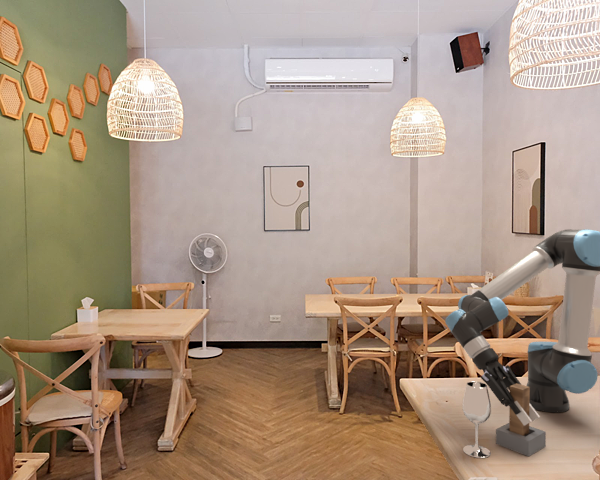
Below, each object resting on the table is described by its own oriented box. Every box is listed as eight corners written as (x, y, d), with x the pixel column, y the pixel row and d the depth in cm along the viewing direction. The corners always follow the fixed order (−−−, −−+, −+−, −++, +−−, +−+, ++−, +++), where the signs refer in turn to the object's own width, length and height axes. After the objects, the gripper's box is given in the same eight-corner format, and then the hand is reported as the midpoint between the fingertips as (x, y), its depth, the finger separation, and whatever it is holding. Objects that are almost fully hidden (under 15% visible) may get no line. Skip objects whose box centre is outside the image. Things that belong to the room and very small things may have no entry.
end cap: (513, 434, 147) (513, 420, 147) (545, 446, 139) (545, 431, 139) (496, 443, 141) (496, 429, 141) (528, 456, 133) (528, 441, 133)
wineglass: (458, 446, 140) (458, 380, 139) (483, 444, 141) (483, 379, 140) (469, 459, 132) (469, 389, 132) (496, 457, 133) (496, 388, 132)
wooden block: (516, 428, 143) (516, 383, 143) (529, 432, 140) (529, 386, 139) (509, 431, 141) (509, 386, 140) (522, 436, 137) (522, 389, 137)
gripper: (488, 355, 157) (537, 419, 144) (458, 364, 147) (507, 434, 134) (503, 342, 153) (555, 408, 140) (473, 351, 142) (526, 422, 130)
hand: (532, 421), depth 137 cm, fingers closed on wooden block, 4 cm apart
